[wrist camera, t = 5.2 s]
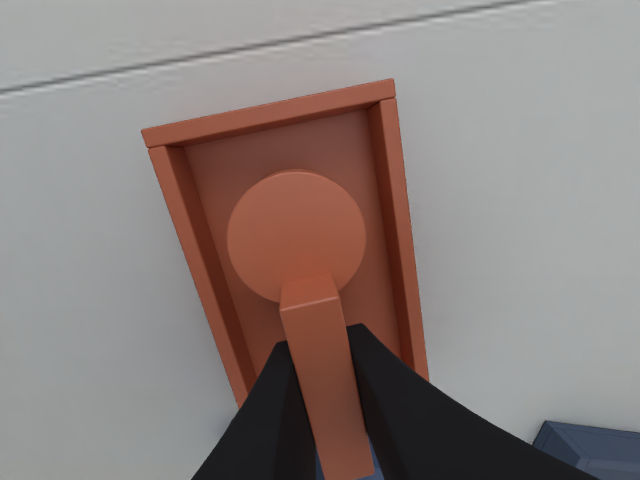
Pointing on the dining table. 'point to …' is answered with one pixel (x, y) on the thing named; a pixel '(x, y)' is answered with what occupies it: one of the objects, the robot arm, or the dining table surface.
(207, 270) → the terracotta tray
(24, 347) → the dining table surface
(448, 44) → the dining table surface
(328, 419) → the terracotta spoon
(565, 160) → the dining table surface
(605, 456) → the slate tray
